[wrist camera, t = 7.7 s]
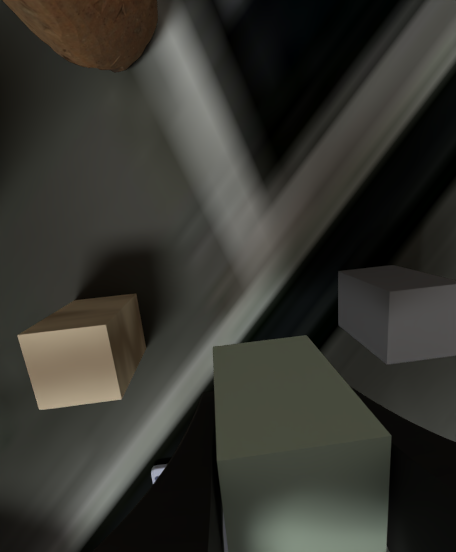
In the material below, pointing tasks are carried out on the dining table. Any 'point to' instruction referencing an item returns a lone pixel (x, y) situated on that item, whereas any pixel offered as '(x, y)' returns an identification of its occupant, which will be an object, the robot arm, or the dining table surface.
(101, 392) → the beech block
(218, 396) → the sage block
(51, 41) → the brown rough elongated lump
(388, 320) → the charcoal block
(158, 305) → the dining table surface
